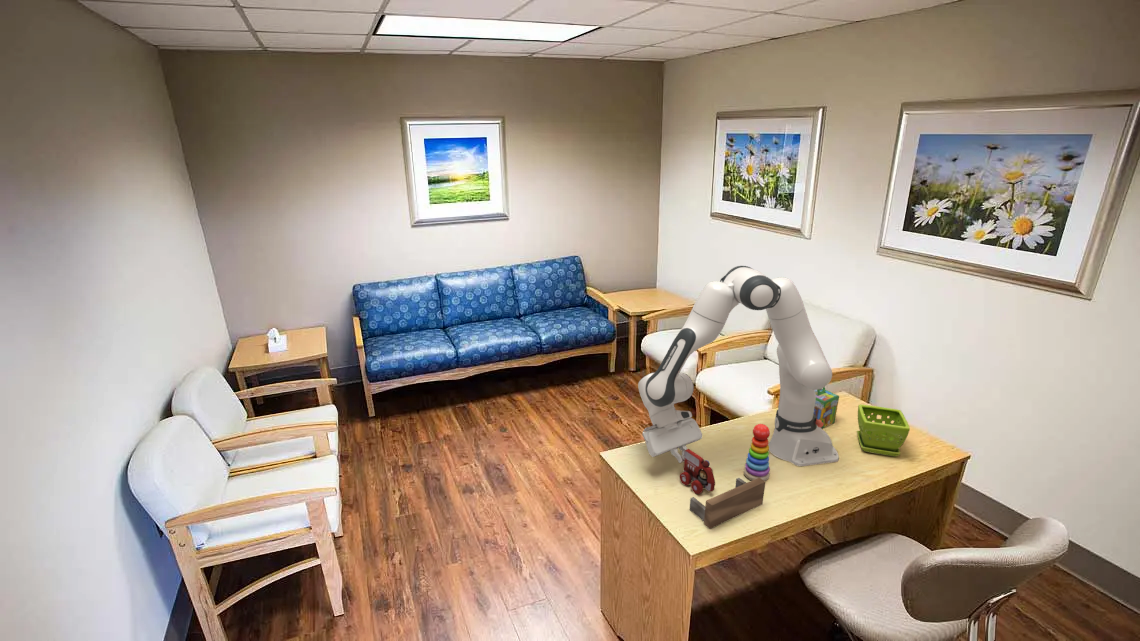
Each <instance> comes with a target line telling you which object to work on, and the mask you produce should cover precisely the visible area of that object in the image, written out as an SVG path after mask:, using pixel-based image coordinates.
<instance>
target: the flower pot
mask: <svg viewBox="0 0 1140 641" xmlns="http://www.w3.org/2000/svg"><path fill="white" fill-rule="evenodd" d="M878 416H880V417H881V418H878ZM883 422H884V423H883ZM857 423H858V424H857V425H858V429H859V430H857V431H856V433H857V438H858V442H859V445H860V448H861V450H862V451H863V452H866V453H872V454H878V455H882V456H883V455H884V456H888V457H897V456H901V451H900V448H901V446H903V444H904V443H905V441H906V440H907V438H908V435H909V433H910V429H911V428H910V425H909V422H908V421H907V419H906V416H905V415H904V414H903V412H902V410H901V409H897V408H890V407H885V406H877V405H876V406H875V405H870V404H869V405H868V404H860V403H859V404H858V406H857Z"/></svg>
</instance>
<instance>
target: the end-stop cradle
mask: <svg viewBox="0 0 1140 641" xmlns="http://www.w3.org/2000/svg"><path fill="white" fill-rule="evenodd" d="M765 489H766V481H764V480H762V479H761V478H757V479H754V480H750V481H747V482H746V481H745V480H743V479H742V478H740V477H737V478H736V479H735V486H734V488H731V489H729V490H727V491H725V492H722V493H720V494H718V495H716V496H714V497H711V498H709V499H706V500H705V505H704V504H703V503H702V502H700V500H698V499H697V498H696V497H694V496H693V497H690V499H689V508H688V509H689V510H690V511H691V512H692V513H693V514H694V515H695V516H696V517H698V518H699V519H700V520H701V521H702V522H703V525H704V526H706V527H707V529H709V530H711V529H714V528H715V527H717V526H719V525H723V523H726V522H728V521H730V520H732V519H734V518H736V517H738V516H740V515H743V514H745V513H747V512H749V511H752V510H754V509H756V508H758V507H760V506H762V505H763V503H764V496H765Z"/></svg>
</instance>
